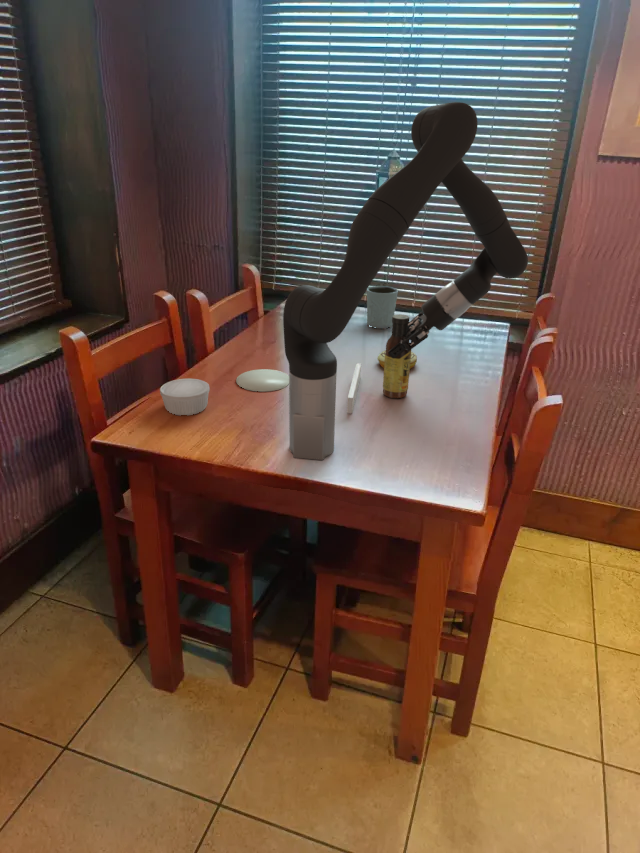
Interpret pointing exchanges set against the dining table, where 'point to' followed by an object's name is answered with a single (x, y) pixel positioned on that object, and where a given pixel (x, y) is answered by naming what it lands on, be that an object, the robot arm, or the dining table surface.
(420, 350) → the dining table surface
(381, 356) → the decorated donut
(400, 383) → the sauce bottle
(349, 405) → the frosted wall
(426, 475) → the dining table surface
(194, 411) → the ramekin
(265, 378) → the sage pad
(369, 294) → the grey tapered cup
